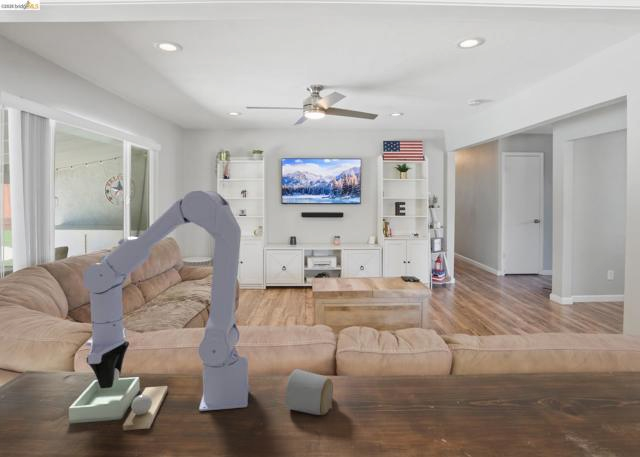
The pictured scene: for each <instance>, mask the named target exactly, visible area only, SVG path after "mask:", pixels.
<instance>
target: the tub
mask: <svg viewBox="0 0 640 457" xmlns="http://www.w3.org/2000/svg"><path fill="white" fill-rule="evenodd" d="M140 386H141V384H140V376H135V377H122V378H121V377H119V379H118V380H117V382H116V383H114V384H113V385H112V387H111V388H100V385H99V383H98V380H97V379H94V380H93V381H92V382H91V383H90V384H89V386H87V388H85V389H84V391H83V392H82V393H81V394H80V395H79V397H77V399H76V400H74V401H73V403H72V404H71V405H70V406H69V407H68V419H69V421H68V422H69V424H78V423H79V424H80V423H89V422H90V423H91V422H102V421H112V420H113V421H114V420H122V419H123V417H124V416H125V414H126V413H127V411H128V409H129V408H130V407H131V404H132V402H133V400H134V399H135V398H136V397H137V396H138V394H139V392H140V388H141V387H140Z"/></svg>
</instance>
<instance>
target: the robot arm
mask: <svg viewBox="0 0 640 457" xmlns="http://www.w3.org/2000/svg"><path fill="white" fill-rule="evenodd" d="M230 205H231V204H230V202H229V201H227V200H226V199H225V197H223V196H222V195H221V194H220V193H218V192H216V191H212V190H207V191H203V190H199V189H198V190H192V191H190V192H188V193H187V194H185V195H184V197H183V198H180V199H179V200H177V201H176V202H174V203H173V204H172V205H171V206H170V207H169V208H168V209H167V210H166V211H165V212H164V213H162V214H161V216H159V218H158V219H156V220H155V221H154V222H153V223H152V224H151V225H150V226H149V227H147V228H146V230H144V231H143V232H142V233H141V234H140V235H139V236H137V237H136V236H129V237H127V238H126V237H124V238H121V239H120V240H118V242H117V244H118V246H117V247H115V248H114V249H113V250H112V251H111V252H110V253H106V254H103V255H102V256H101V258H100V259H101V261H100V263H99V262H97V263H92V264H90V265H88V267H87V268H86V269H85V270H84V272H83V273H82V274H83V275H82V283H83V285H84V287H85V288H86V289H87V290H88V291H89V300H90V320H91V323H90V324H91V338H90V339H88V340H87V341H86V343H85V345H86V346H87V347H89V346H90V350H89V353H88V354H87V357H86V363H87V365H89V367H90V368H91V369H92V371H93V373H94V374H95V376H96V380H98V383H99V385H100V388H111V387H112V385H113V381H114V371H115V368H117V369H118V371H119V373H120V376H121V374H122V369H123V362H124V358H125V356H126V352H127V350H128V348H129V346H130V342H129V341H126V336H127V329H126V327H124V313H123V311H124V309H123V285H124V283H125V282H126V280H127V277H128V276H129V275H131V274H132V273H133V272H135V270H137V269H138V268H140V266H141V265H143V264H144V263H145V262H146V261H147V260H149V258H151V255H152V254H151V251H152V248H153V247H155V245H157V244H158V243H160V242H161V241H162V240H163V239H164V238H166V237H167V236H168V235H170V234H171V233H172V232H174V231H175V230H176V229H177V228H179V227H180V226H182V225H185V224H190V223H193V224H195V225H196V226H198V227H200V228H203V229H204V230H205V231H206V232H207V233H208V234H209V235H210V236H211V237H212V238H213V239H214V252H213V263H212V265H213V266H212V277H211V278H212V279H211V289H210V291H211V292H210V302H209V303H210V304H209V314H208V319H207V322H206V325H205V328H204V337H203V338H202V340H201V342H200V343H199V346H198V355H199V357H200V359H201V361H202V388H203V393H202V397H201V400H200V404H199V407H198V410H199V411H200V412H203V411H204V412H205V411H206V412H207V411H214V410H215V411H216V410H229V409H237V408H238V409H239V408H247V407H248V403H249V402H248V401H249V400H248V399H249V393H250V390H251V389H250V388H251V387H250V382H249V360H248V359H249V358H248V357H247V356H241V355H239V353H238V351H237V349H236V345H237V344H238V342H239V340H240V331H239V328H238V326H237V325H238V324H237V315H236V313H235V311H236V310H235V309H236V297H237V287H238V286H237V283H238V273H239V259H240V251H241V250H240V249H241V238H242V230H241V227H240V225H239V223H238V221H237V219H236V217H235V214H234V213H233V211H232V209H231V206H230ZM120 376H119V378H121V377H120Z"/></svg>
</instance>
